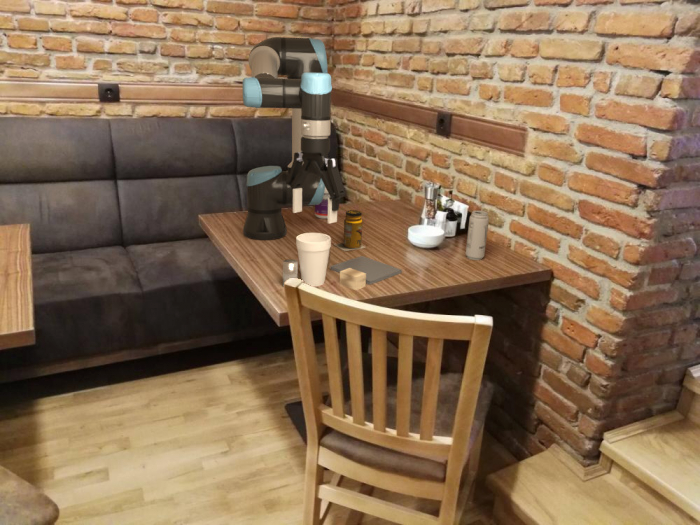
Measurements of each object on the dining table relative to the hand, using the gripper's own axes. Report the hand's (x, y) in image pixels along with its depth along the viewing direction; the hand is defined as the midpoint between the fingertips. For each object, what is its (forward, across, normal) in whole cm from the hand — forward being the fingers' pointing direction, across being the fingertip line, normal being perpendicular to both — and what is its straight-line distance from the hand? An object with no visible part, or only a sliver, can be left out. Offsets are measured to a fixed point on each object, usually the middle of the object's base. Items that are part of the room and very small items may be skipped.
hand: (314, 217), depth 149 cm
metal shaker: (+19, -2, -6) cm, 20 cm away
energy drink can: (+19, +19, +54) cm, 60 cm away
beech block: (+19, +9, +7) cm, 22 cm away
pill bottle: (+19, -47, +50) cm, 71 cm away
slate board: (+19, +4, +18) cm, 26 cm away
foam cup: (+19, 0, 0) cm, 19 cm away
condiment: (+19, -15, +31) cm, 39 cm away
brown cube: (+19, -8, +10) cm, 23 cm away
